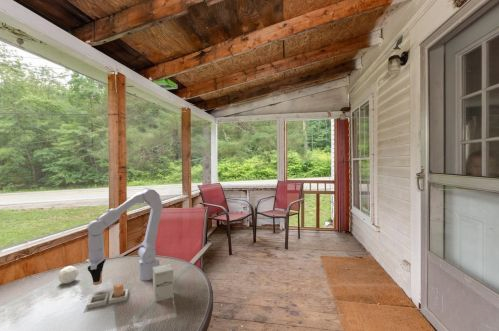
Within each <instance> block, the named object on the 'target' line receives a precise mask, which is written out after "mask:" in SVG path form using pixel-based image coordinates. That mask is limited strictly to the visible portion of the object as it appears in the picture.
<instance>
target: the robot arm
mask: <svg viewBox="0 0 499 331" xmlns="http://www.w3.org/2000/svg"><path fill="white" fill-rule="evenodd" d="M144 203H146V204H147V205H148V206H149V208H150V211H149V212H150V213H149V216H148V222H147V226H146V230H145V233H144V238H143V239H144V240H143V241H142V242H141V246H140V247H139V248H138V251H137V256H138V257H139V261H138V277H139V280H140V281H143V282H145V281H150V280H153V267H156V266H160V259H159V258H156V257H157V252H156V248H157V247H156V246H157V245H156V240H157V235H158V230H159V225H160V220H161V217H162V216H161V215H162V211H163V207H164V206H163V203H162V200H161V198H160V194H159V193H158V192H157V191H156V190H155V189H152V188H151V189H150V188H147V187H146V188H142V190H141V191H138V192H136V193H134V195H132V196H131V197H130V198H128V199H127V200H125V201H124V202H123V203H121V204H120V205H119V206H117V207H116V208H110V209H109V208H107V209H106V210H105V212H104V213H103V214H102V215H100V216H99V217H98V216H97V217H95V220H91V221H90V222H89V223H88V224H87V227H86V230H87V231H88V234H87V237H88V238H87V243H88V244H87V245H88V246H87V248H88V259H86V260H85V263H88V264H89V265H88V266H87V271H88V272H89V273H90V275H91V278H92V283H93V282H99V281H100V276H101V270H102V271H103V269H104V266H105V263H106V256H105V237H104V231H105V229H107V228H108V227H110V226H111V225H112V224H114V223H115V222H117V221H118V220H119V219H120V218H121V215H122V214H124V213H125V212H126V211H127V210H129V209H130V208H132V207H133V206H136V204H144Z"/></svg>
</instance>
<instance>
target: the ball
mask: <svg viewBox="0 0 499 331" xmlns="http://www.w3.org/2000/svg"><path fill="white" fill-rule="evenodd" d="M78 275H79V269H77V267H75V266H72V265H69V266H65V267H64V268H62V269H60V271H59V272H58V274H57V278H58V281H59V282H60V283H61V284H65V285H67V284H71V283H72V282H74V281H75V280H76V279H77V277H78Z"/></svg>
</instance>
